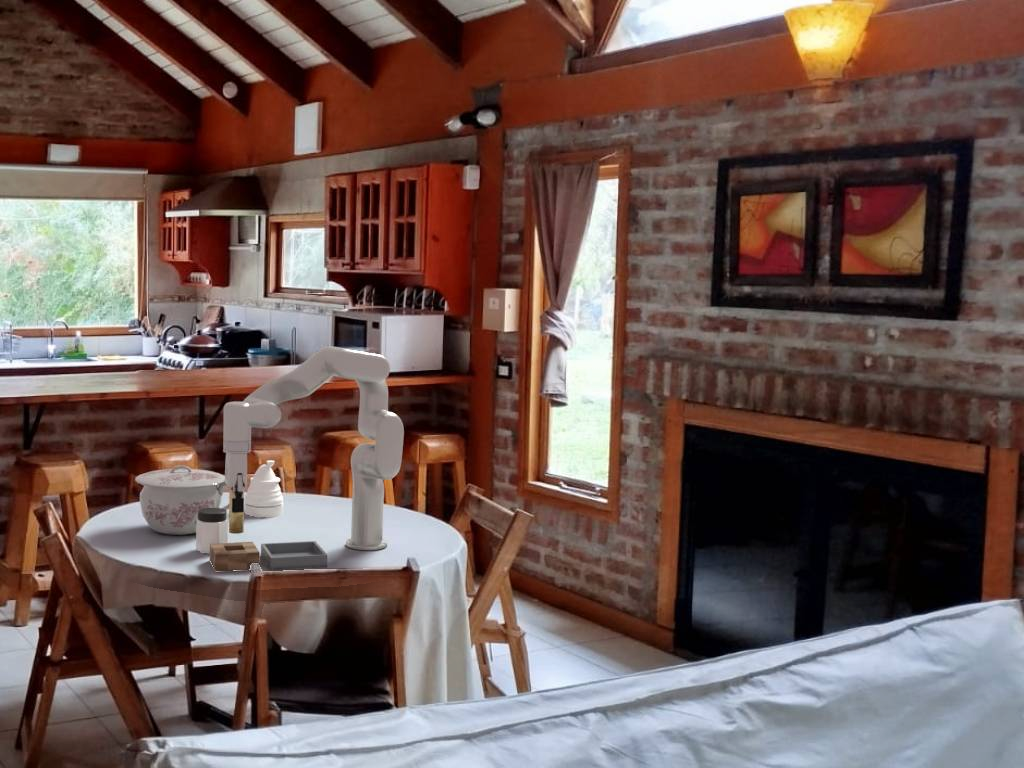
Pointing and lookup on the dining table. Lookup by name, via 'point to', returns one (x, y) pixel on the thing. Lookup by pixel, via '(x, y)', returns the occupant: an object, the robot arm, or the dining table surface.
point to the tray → (293, 555)
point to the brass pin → (235, 518)
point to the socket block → (233, 556)
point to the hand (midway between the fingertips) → (236, 509)
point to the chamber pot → (179, 497)
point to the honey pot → (264, 494)
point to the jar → (211, 528)
